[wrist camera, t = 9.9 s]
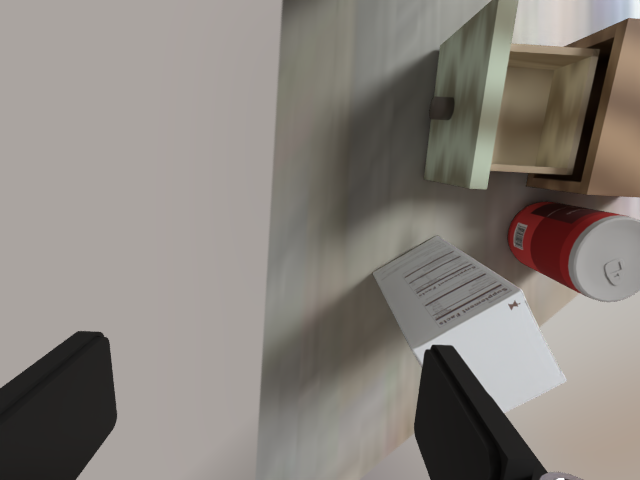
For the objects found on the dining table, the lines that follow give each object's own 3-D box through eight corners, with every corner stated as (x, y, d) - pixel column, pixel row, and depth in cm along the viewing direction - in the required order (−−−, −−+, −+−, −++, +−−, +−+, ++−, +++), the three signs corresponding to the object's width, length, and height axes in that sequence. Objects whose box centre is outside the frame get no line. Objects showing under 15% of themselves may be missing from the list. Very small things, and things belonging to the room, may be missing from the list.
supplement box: (370, 271, 41) (406, 347, 25) (437, 232, 40) (521, 284, 24) (407, 332, 43) (464, 438, 27) (472, 296, 42) (572, 384, 26)
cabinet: (551, 52, 36) (628, 18, 27) (662, 59, 36) (773, 27, 27) (525, 186, 39) (586, 194, 30) (627, 191, 39) (716, 201, 31)
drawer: (424, 44, 35) (477, -9, 24) (554, 53, 35) (665, 4, 24) (409, 178, 38) (449, 187, 27) (528, 184, 39) (616, 196, 27)
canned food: (525, 277, 42) (598, 318, 31) (492, 227, 40) (556, 252, 30) (581, 240, 41) (676, 269, 30) (549, 187, 39) (637, 198, 29)
